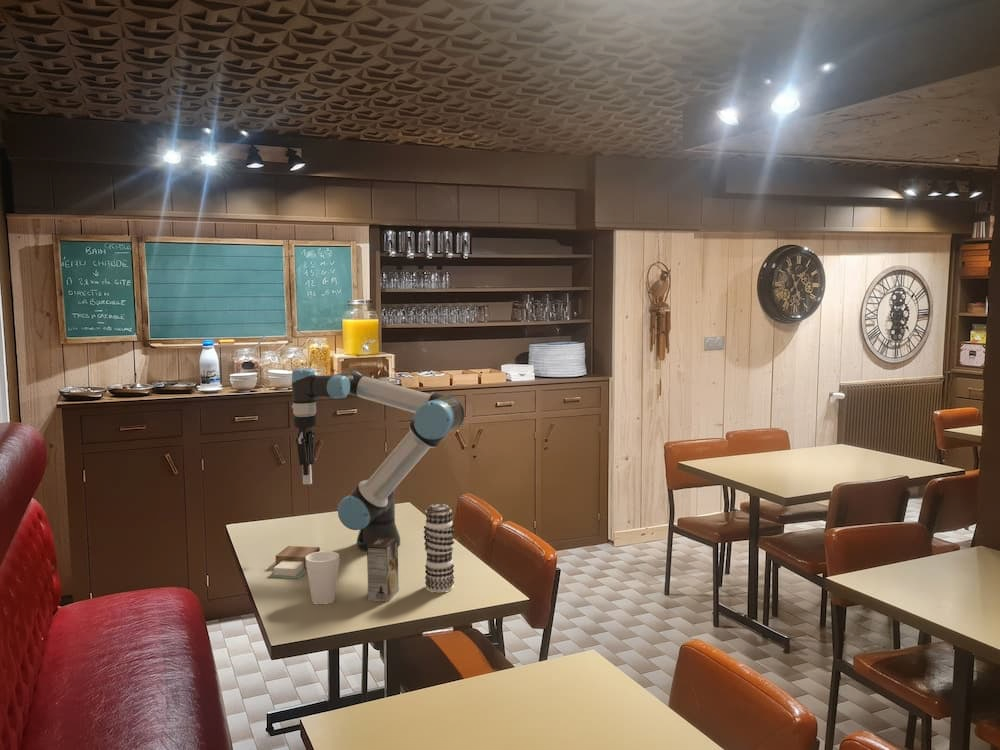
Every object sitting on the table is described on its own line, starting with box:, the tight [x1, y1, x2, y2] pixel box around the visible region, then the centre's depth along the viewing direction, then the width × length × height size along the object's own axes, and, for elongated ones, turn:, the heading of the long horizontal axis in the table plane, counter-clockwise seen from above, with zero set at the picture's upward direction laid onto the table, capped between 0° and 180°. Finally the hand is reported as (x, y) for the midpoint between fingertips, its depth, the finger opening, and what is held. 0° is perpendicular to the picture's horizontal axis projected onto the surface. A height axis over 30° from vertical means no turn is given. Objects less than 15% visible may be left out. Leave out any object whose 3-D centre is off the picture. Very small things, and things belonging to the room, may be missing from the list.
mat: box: [268, 568, 307, 579], centre depth 242 cm, size 10×8×1 cm
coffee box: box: [366, 537, 400, 602], centre depth 223 cm, size 9×6×16 cm
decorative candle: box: [423, 503, 456, 594], centre depth 229 cm, size 9×9×25 cm
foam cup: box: [306, 550, 340, 605], centre depth 220 cm, size 10×9×13 cm
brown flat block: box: [275, 545, 321, 569], centre depth 251 cm, size 11×10×4 cm
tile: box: [273, 561, 304, 576], centre depth 243 cm, size 7×7×2 cm
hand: (307, 483), depth 261 cm, fingers closed
